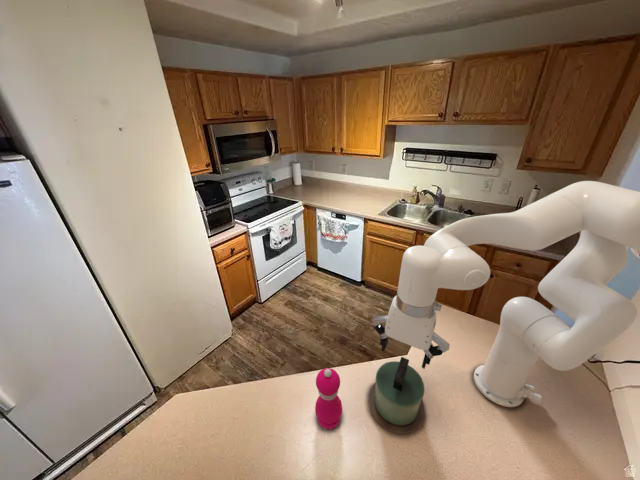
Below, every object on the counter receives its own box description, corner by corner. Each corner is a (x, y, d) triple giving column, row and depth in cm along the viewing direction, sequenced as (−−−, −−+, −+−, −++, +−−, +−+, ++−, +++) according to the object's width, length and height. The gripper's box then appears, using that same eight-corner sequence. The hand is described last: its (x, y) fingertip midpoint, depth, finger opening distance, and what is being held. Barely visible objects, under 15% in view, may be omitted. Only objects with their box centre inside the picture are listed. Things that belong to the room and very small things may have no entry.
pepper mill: (340, 434, 67) (340, 388, 58) (313, 428, 69) (309, 382, 59) (343, 405, 73) (344, 359, 64) (318, 401, 75) (316, 355, 65)
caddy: (423, 393, 74) (432, 358, 67) (413, 436, 65) (423, 401, 58) (381, 373, 80) (385, 340, 73) (367, 410, 71) (370, 376, 63)
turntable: (428, 394, 75) (428, 391, 75) (417, 447, 64) (417, 444, 64) (378, 371, 82) (378, 368, 82) (360, 415, 71) (360, 413, 70)
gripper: (461, 304, 54) (443, 358, 62) (380, 280, 62) (374, 331, 70) (457, 328, 48) (439, 384, 56) (369, 298, 56) (364, 351, 64)
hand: (403, 355), depth 63 cm, fingers open, 9 cm apart
